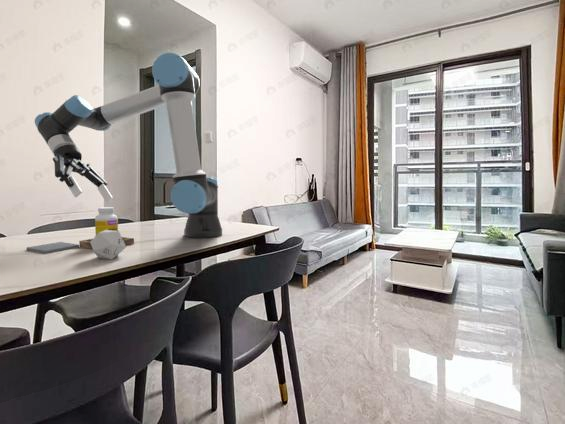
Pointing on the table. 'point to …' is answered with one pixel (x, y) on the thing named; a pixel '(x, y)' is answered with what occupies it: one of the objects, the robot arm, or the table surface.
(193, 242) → the table surface
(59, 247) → the slate coaster
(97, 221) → the supplement bottle
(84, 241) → the walnut frame
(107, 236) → the die
